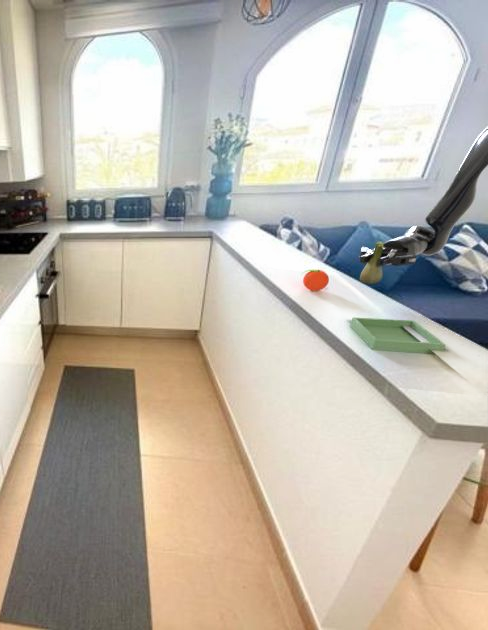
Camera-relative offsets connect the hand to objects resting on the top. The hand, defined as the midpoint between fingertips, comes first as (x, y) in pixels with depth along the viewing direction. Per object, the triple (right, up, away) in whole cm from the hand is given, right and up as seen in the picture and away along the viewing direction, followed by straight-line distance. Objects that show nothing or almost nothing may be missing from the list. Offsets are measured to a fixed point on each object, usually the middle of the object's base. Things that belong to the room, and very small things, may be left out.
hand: (370, 261), depth 98 cm
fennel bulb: (+3, -6, +4) cm, 8 cm away
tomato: (-5, -7, +17) cm, 19 cm away
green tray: (-6, -21, -13) cm, 26 cm away
